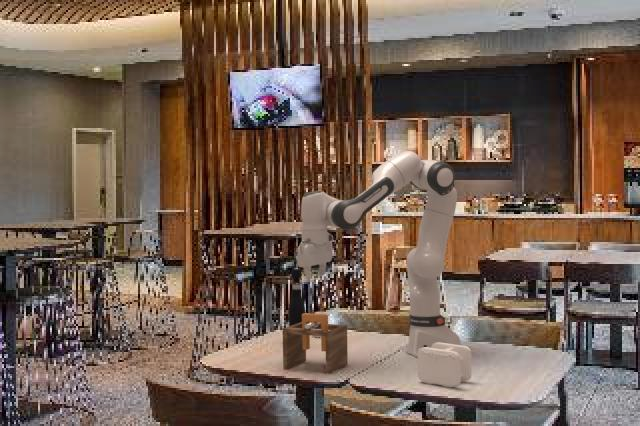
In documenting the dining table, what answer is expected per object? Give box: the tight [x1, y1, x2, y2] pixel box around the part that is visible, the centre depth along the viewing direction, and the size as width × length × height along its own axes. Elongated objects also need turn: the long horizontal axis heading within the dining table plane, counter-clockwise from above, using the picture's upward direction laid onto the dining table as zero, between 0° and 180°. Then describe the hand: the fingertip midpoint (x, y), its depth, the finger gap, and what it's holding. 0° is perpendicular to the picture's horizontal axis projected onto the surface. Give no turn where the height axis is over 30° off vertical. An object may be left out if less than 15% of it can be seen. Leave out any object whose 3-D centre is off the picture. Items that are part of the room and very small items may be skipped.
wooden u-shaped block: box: [302, 312, 329, 352], centre depth 287 cm, size 9×2×12 cm, turn 63°
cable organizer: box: [417, 342, 472, 389], centre depth 262 cm, size 15×11×12 cm
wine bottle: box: [288, 268, 306, 327], centre depth 323 cm, size 6×6×30 cm
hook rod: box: [304, 322, 321, 330], centre depth 287 cm, size 2×13×2 cm, turn 153°
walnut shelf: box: [282, 322, 349, 375], centre depth 287 cm, size 18×14×14 cm
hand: (315, 277), depth 287 cm, fingers open, 8 cm apart
